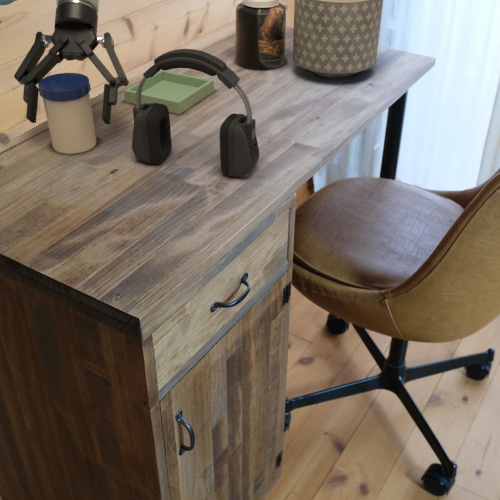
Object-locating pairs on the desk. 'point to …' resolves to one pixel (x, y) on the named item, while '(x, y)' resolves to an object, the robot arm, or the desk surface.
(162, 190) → the desk surface
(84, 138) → the cream jar
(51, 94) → the lid
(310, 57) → the planter
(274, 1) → the jar
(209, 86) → the tray
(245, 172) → the headphones
